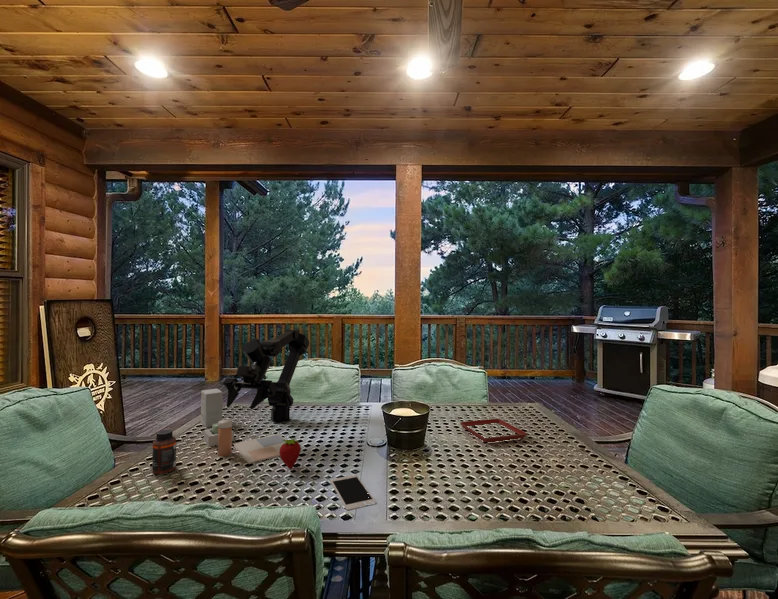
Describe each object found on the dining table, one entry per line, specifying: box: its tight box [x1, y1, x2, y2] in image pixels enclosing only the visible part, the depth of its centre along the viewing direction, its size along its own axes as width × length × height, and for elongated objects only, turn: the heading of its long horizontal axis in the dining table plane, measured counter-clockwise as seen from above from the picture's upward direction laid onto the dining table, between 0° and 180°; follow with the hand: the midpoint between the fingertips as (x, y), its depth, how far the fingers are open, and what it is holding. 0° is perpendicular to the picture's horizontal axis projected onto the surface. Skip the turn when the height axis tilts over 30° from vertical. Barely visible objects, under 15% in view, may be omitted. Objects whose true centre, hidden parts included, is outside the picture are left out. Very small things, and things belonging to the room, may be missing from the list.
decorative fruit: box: [279, 434, 302, 469], centre depth 110 cm, size 6×8×10 cm
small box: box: [200, 388, 224, 428], centre depth 148 cm, size 8×6×13 cm
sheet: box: [232, 433, 286, 465], centre depth 124 cm, size 16×18×1 cm
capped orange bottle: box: [217, 419, 233, 458], centre depth 119 cm, size 4×4×10 cm
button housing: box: [203, 428, 235, 448], centre depth 130 cm, size 8×8×4 cm
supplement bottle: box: [151, 429, 177, 475], centre depth 107 cm, size 6×6×11 cm
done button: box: [211, 423, 218, 434], centre depth 130 cm, size 4×4×4 cm
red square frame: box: [459, 418, 528, 443], centre depth 139 cm, size 18×18×3 cm
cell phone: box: [329, 474, 377, 511], centre depth 97 cm, size 8×16×1 cm, turn 24°
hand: (239, 407), depth 126 cm, fingers open, 9 cm apart
